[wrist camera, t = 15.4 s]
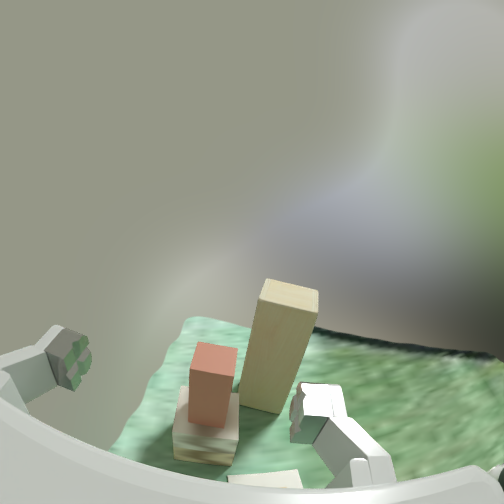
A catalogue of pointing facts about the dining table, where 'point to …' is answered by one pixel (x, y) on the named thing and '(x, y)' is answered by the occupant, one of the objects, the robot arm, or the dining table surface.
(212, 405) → the tall brick
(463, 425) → the dining table surface
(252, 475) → the page
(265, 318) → the tall beige pillar
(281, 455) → the dining table surface
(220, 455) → the tower base
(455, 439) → the dining table surface
